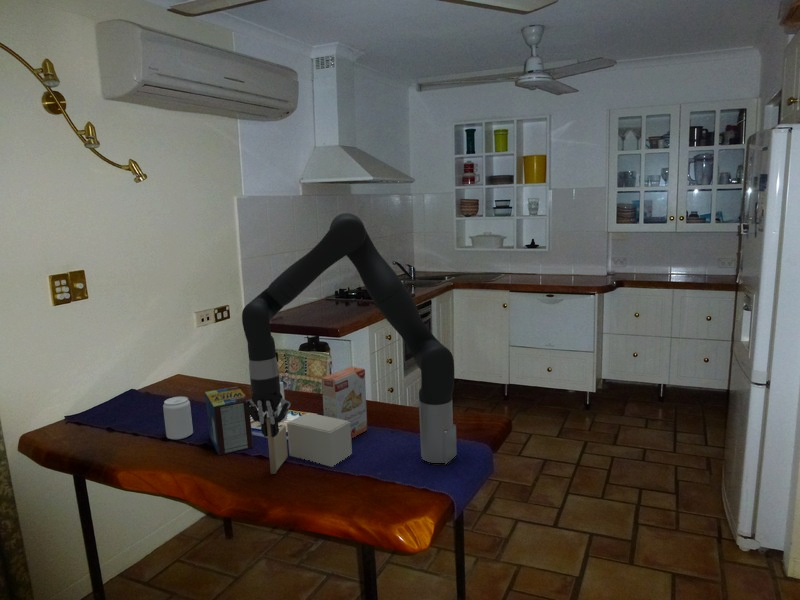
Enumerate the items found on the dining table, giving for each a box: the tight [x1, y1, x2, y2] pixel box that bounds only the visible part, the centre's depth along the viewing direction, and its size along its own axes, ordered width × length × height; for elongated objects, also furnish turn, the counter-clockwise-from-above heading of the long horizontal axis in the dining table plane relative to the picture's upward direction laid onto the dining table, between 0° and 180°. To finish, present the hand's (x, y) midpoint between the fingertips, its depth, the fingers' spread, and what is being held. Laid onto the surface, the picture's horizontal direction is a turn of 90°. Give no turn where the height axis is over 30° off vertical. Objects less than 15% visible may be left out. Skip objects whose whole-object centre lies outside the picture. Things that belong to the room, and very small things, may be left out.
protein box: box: [204, 386, 254, 456], centre depth 184 cm, size 10×15×16 cm
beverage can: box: [162, 396, 194, 440], centre depth 191 cm, size 8×8×12 cm
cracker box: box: [321, 366, 368, 440], centre depth 184 cm, size 14×6×21 cm, turn 143°
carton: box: [286, 412, 353, 468], centre depth 173 cm, size 16×9×10 cm, turn 58°
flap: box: [266, 417, 289, 475], centre depth 166 cm, size 11×2×16 cm, turn 171°
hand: (270, 435), depth 161 cm, fingers closed, pressing on flap
